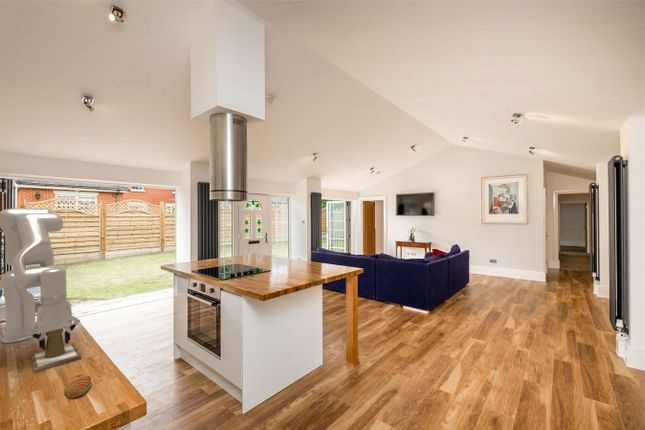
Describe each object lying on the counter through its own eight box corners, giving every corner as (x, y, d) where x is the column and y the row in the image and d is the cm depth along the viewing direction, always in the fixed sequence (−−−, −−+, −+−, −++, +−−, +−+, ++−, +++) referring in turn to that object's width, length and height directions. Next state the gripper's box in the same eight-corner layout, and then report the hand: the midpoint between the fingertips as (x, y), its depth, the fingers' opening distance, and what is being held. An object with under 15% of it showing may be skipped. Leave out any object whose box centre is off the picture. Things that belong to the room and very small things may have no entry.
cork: (53, 358, 112) (52, 330, 112) (40, 357, 113) (39, 329, 113) (69, 351, 118) (68, 324, 118) (56, 350, 119) (56, 323, 119)
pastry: (92, 394, 92) (91, 382, 92) (63, 403, 88) (62, 391, 88) (91, 381, 99) (90, 369, 99) (64, 389, 95) (64, 377, 95)
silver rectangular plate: (31, 356, 117) (30, 353, 117) (73, 345, 127) (73, 342, 127) (34, 372, 105) (34, 369, 105) (81, 358, 114) (81, 355, 114)
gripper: (23, 307, 106) (25, 357, 107) (84, 296, 120) (85, 340, 120) (21, 304, 111) (22, 351, 111) (79, 293, 124) (81, 336, 125)
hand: (55, 345), depth 116 cm, fingers open, 6 cm apart
